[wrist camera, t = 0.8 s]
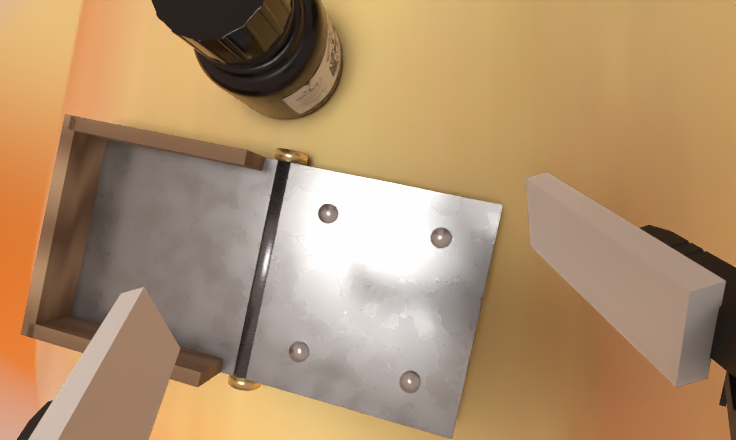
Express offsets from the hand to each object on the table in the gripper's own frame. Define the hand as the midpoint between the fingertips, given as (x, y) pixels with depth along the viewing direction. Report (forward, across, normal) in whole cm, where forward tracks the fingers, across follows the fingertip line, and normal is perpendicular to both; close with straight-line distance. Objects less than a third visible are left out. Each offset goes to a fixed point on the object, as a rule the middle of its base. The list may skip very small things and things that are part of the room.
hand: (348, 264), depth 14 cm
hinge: (+17, -6, -9) cm, 20 cm away
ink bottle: (+24, -1, +4) cm, 24 cm away
